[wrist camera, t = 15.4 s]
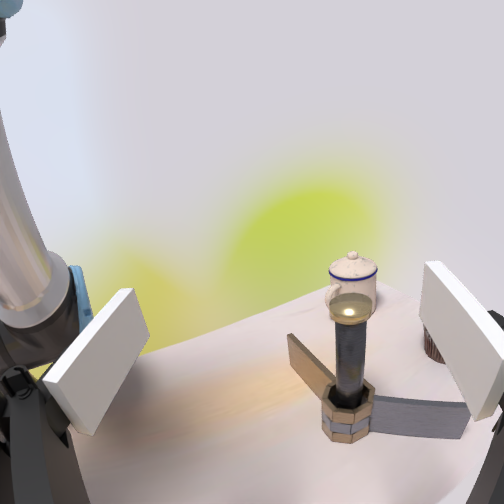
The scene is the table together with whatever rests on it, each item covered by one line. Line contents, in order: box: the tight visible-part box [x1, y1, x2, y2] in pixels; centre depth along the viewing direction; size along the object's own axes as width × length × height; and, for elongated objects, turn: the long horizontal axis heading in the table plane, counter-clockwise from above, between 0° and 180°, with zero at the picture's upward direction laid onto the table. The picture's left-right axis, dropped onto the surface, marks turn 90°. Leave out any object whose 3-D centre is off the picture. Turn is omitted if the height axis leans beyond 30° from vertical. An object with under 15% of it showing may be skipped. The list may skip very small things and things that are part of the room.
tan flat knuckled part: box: [287, 333, 375, 444], centre depth 38 cm, size 18×6×6 cm, turn 21°
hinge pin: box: [329, 293, 372, 410], centre depth 31 cm, size 4×4×18 cm
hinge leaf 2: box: [322, 395, 471, 439], centre depth 30 cm, size 18×6×6 cm, turn 61°
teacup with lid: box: [325, 251, 377, 313], centre depth 56 cm, size 12×9×12 cm
